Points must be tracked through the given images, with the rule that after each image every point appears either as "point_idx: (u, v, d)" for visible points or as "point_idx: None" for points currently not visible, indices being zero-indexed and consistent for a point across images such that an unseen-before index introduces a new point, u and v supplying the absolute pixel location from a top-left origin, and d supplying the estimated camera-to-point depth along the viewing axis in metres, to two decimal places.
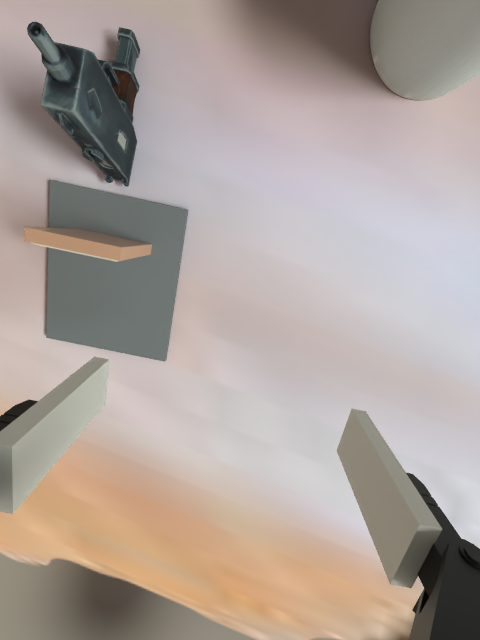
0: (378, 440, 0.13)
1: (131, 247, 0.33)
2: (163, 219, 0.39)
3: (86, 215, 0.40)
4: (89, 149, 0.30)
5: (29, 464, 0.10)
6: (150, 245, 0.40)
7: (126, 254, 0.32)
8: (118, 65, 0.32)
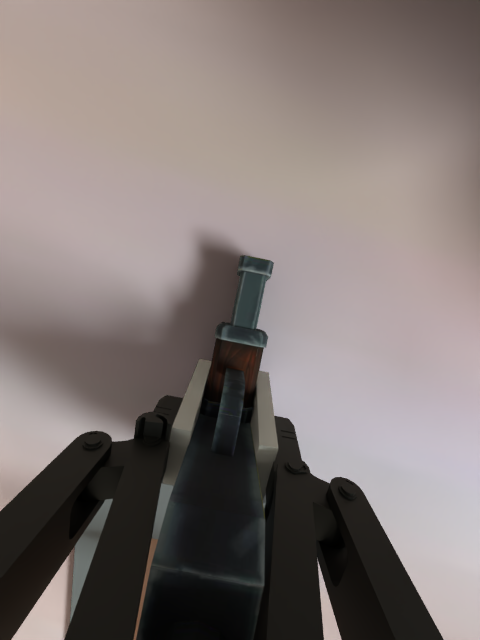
0: (265, 392, 0.15)
1: None
2: None
3: None
4: None
5: None
6: None
7: None
8: (241, 335, 0.15)
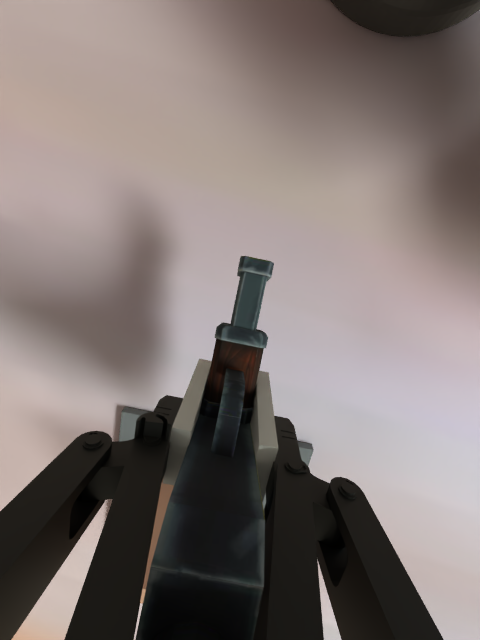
0: (265, 392, 0.15)
1: None
2: None
3: None
4: None
5: None
6: None
7: None
8: (241, 335, 0.15)
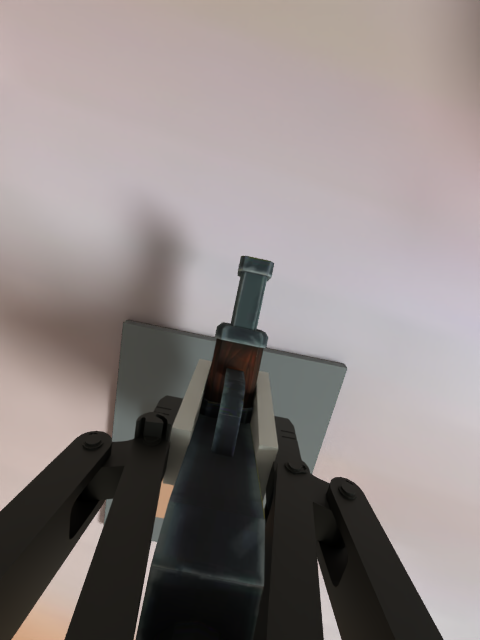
0: (264, 392, 0.15)
1: None
2: (306, 381, 0.24)
3: (179, 373, 0.24)
4: None
5: None
6: None
7: None
8: (241, 335, 0.15)
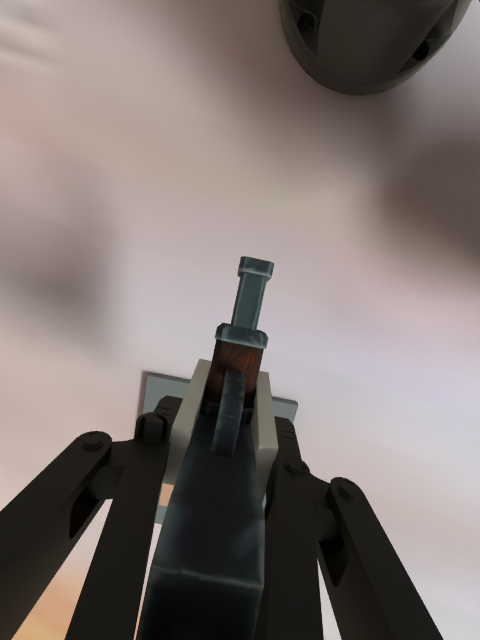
0: (264, 392, 0.15)
1: None
2: None
3: None
4: None
5: None
6: None
7: None
8: (241, 336, 0.15)
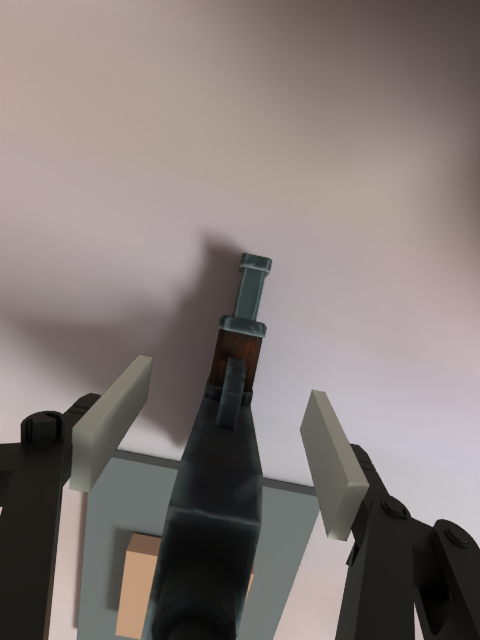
0: (330, 415, 0.15)
1: None
2: (281, 509, 0.23)
3: (151, 499, 0.23)
4: None
5: (101, 449, 0.11)
6: None
7: None
8: (242, 325, 0.16)
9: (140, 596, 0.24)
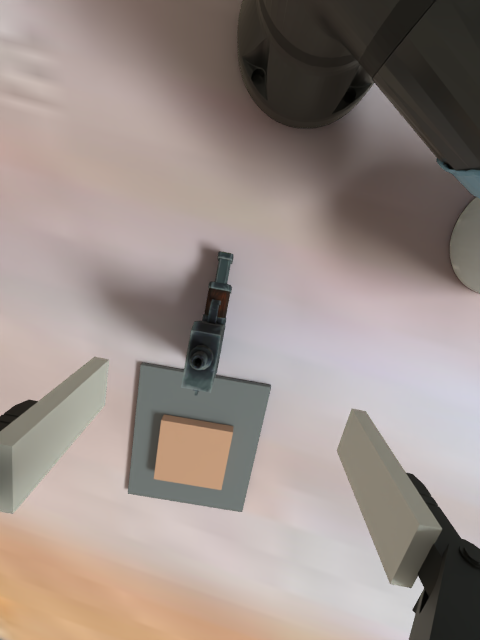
0: (378, 440, 0.13)
1: (224, 474, 0.43)
2: (247, 396, 0.41)
3: (173, 392, 0.41)
4: None
5: (29, 464, 0.10)
6: None
7: None
8: (219, 285, 0.35)
9: (168, 450, 0.42)
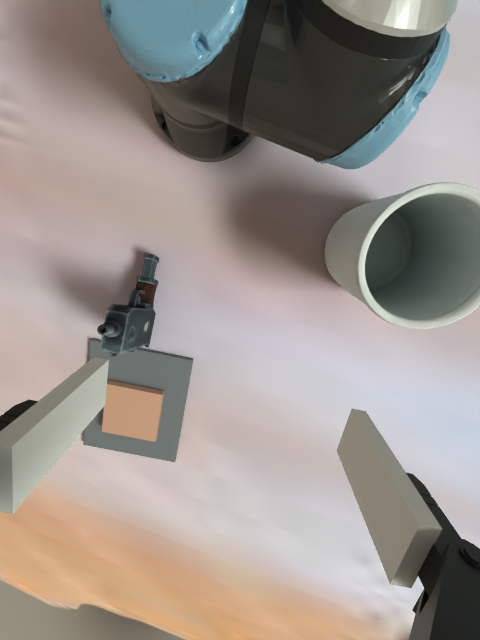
0: (378, 440, 0.13)
1: (157, 429, 0.55)
2: (174, 366, 0.53)
3: (117, 363, 0.53)
4: None
5: (29, 464, 0.10)
6: (162, 397, 0.53)
7: (157, 432, 0.56)
8: (144, 279, 0.46)
9: (112, 408, 0.54)
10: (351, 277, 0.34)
